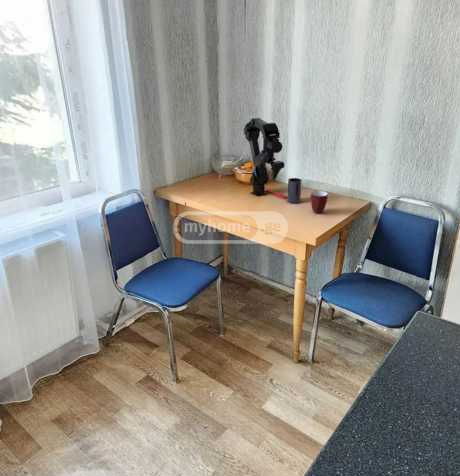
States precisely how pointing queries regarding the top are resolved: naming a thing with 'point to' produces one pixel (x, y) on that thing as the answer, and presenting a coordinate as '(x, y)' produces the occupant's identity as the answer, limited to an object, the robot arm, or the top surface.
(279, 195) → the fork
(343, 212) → the top surface
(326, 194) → the mug
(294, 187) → the grey cylindrical cup
